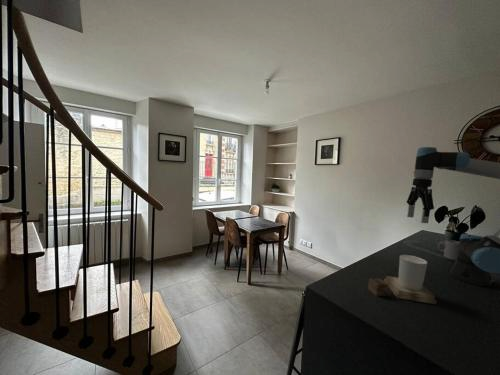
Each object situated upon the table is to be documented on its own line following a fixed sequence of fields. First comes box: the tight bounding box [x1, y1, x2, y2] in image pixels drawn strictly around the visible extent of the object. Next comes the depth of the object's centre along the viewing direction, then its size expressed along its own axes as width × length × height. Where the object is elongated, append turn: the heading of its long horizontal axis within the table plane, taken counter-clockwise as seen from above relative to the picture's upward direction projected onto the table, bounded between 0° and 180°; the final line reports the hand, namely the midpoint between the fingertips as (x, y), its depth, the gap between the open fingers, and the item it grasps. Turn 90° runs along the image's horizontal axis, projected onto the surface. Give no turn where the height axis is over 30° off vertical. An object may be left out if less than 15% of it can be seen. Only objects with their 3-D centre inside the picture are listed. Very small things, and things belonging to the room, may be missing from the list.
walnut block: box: [367, 277, 389, 297], centre depth 94 cm, size 5×5×5 cm
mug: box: [437, 239, 460, 261], centre depth 143 cm, size 12×8×11 cm
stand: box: [383, 275, 437, 305], centre depth 96 cm, size 14×14×3 cm
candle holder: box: [397, 254, 428, 291], centre depth 95 cm, size 10×10×12 cm
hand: (416, 219), depth 112 cm, fingers open, 13 cm apart
